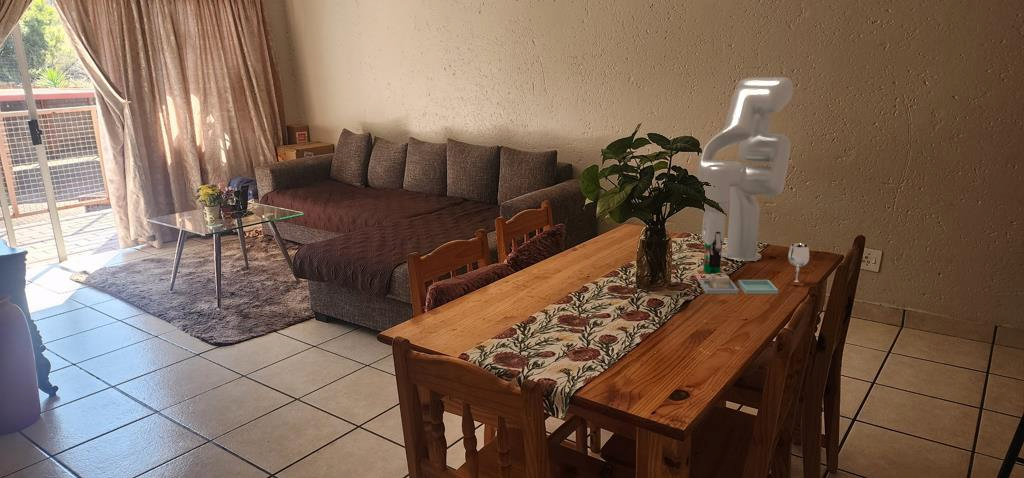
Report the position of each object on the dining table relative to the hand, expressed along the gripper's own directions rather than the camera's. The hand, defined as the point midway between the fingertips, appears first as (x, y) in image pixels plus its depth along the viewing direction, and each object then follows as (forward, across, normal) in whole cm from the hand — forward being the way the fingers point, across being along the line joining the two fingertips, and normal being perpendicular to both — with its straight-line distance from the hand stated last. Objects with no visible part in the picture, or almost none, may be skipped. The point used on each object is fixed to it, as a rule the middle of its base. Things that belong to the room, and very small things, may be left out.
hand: (712, 263), depth 202 cm
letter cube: (+5, +10, 0) cm, 11 cm away
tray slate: (+5, +10, 0) cm, 11 cm away
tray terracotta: (+5, 0, 0) cm, 5 cm away
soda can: (+3, 0, 0) cm, 3 cm away
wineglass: (+5, +4, +24) cm, 25 cm away
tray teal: (+5, +10, +11) cm, 16 cm away
